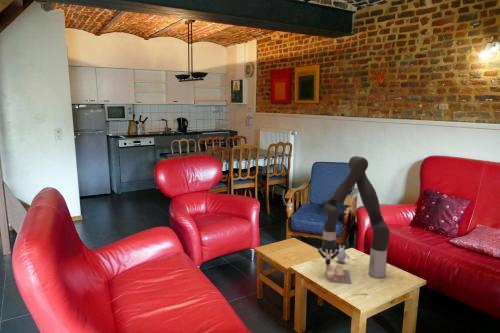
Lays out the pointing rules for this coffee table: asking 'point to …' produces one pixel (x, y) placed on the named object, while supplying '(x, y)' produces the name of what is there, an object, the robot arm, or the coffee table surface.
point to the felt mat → (347, 278)
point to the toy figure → (342, 254)
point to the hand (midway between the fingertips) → (327, 264)
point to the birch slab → (335, 272)
